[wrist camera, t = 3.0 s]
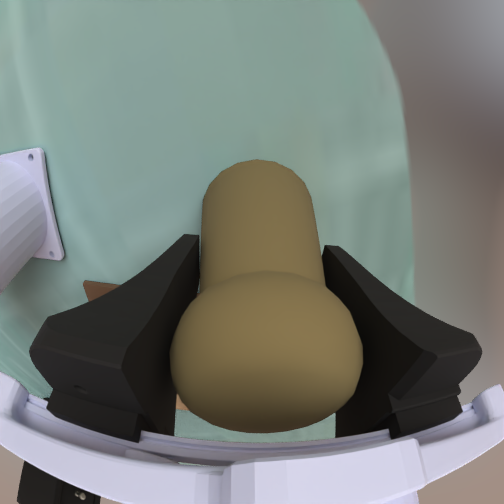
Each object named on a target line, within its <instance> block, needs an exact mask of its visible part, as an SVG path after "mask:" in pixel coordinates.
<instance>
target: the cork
mask: <svg viewBox="0 0 504 504" xmlns="http://www.w3.org/2000/svg"><path fill="white" fill-rule="evenodd" d="M169 355H170V368H171V375H172V380H173V385H174V387H175V390H176V392H177V394H178V396H179V398H180V400H181V401H182V403H183V404H184V405H185V406H186V407H187V408H188V409H189V410H190V412H192V413H193V414H195V415H197V416H198V417H200V418H202V419H203V420H205V421H207V422H209V423H211V424H212V425H215V426H218V427H221V428H225V429H228V430H233V431H239V432H246V433H275V432H284V431H290V430H294V429H299V428H303V427H306V426H309V425H312V424H314V423H317V422H319V421H322V420H323V419H325V418H327V417H328V416H330V415H332V414H333V413H335V412H336V411H337V410H339V409H340V408H341V407H342V406H344V405H345V403H346V402H347V401H348V400H349V399H350V398H351V397H352V396H353V394H354V392H355V389H356V386H357V384H358V381H359V378H360V374H361V370H362V366H363V345H362V343H361V340H360V337H359V334H358V332H357V329H356V326H355V324H354V321H353V319H352V316H351V314H350V311H349V310H348V309H347V308H346V306H345V305H344V304H343V303H342V302H341V300H340V299H339V298H338V297H337V296H336V295H334V294H333V293H332V292H331V291H330V290H329V289H328V288H327V287H326V285H325V277H324V270H323V263H322V257H321V250H320V244H319V238H318V232H317V226H316V220H315V215H314V209H313V204H312V199H311V196H310V194H309V191H308V189H307V187H306V185H305V183H304V182H303V181H302V180H301V179H300V178H299V177H298V176H297V175H296V174H295V173H294V172H293V171H292V170H291V169H289V168H287V167H285V166H283V165H280V164H278V163H276V162H272V161H264V160H251V161H245V162H240V163H237V164H235V165H233V166H231V167H229V168H227V169H225V170H224V171H222V172H221V173H220V174H219V175H218V176H217V177H216V178H215V179H214V180H213V181H212V182H211V184H210V185H209V187H208V189H207V192H206V194H205V196H204V199H203V208H202V227H201V254H200V295H199V296H198V297H197V298H196V299H194V300H193V301H192V302H191V303H190V305H189V306H188V308H187V309H186V311H185V312H184V314H183V315H182V317H181V319H180V322H179V324H178V326H177V329H176V331H175V333H174V336H173V340H172V344H171V348H170V352H169Z"/></svg>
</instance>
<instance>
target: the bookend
mask: <svg viewBox="0 0 504 504" xmlns="http://www.w3.org/2000/svg"><path fill="white" fill-rule="evenodd" d="M43 400H45V401H49V399H48V398H43ZM100 498H101V496H99V495H97V494H94V493H91V492H89V491H86V490H84V489H81V488H79V487H76V486H74V485H72V484H69V483H67V482H65V481H63V480H61V479H59V478H57V477H55V476H53V475H51V474H49V473H47V472H45V471H43V470H41V469H39V468H37V467H36V466H34V465H32V464H30V463H29V462H27V461H24V465H23V469H22V474H21V480H20V484H19V490H18V497H17V502H18V503H19V504H100Z"/></svg>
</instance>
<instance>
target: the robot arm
mask: <svg viewBox="0 0 504 504" xmlns="http://www.w3.org/2000/svg"><path fill="white" fill-rule="evenodd" d="M32 155H33V158H32ZM31 257H35V258H43V259H51V260H62V259H63V257H64V250H63V247H62V243H61V239H60V236H59V232H58V228H57V224H56V219H55V215H54V210H53V206H52V201H51V195H50V190H49V184H48V178H47V171H46V163H45V155H44V151H43V149H41V148H39V147H38V148H32V149H27V150H22V151H17V152H12V153H7V154H3V155H0V295H1V293H2V292H3V291H4V289H5V288H6V287H7V286H8V284H9V283H10V282H11V281H12V279H13V278H14V277H15V276H16V274H17V273H18V272H19V271H20V270H21V269H22V267H23V266H24V265H25V264H26V263H27V262H28V261H29V259H30V258H31ZM322 263H323V270H324V277H325V285H326V287H327V288H328V289H329V290H330V291H331V292H332V293H333V294H334V295H336V296H337V297H338V298H339V299H340V300H341V302H342V303H343V304H344V305H345V306H346V308H347V309H348V310H349V311H350V314H351V316H352V319H353V321H354V324H355V326H356V329H357V332H358V334H359V337H360V340H361V343H362V345H363V366H362V370H361V374H360V378H359V381H358V384H357V386H356V389H355V392H354V394H353V396H352V397H351V398H350V399H349V400H348V401H347V402H346V403H345V405H344V406H342V407H341V408H340V409H339V410H337V411H336V412H335V413H336V432H335V438H332V439H324V440H314V441H301V442H282V443H240V442H221V441H209V440H198V439H190V438H182V437H175V436H174V428H175V412H176V400H177V392H176V390H175V387H174V385H173V380H172V375H171V368H170V355H169V352H170V348H171V344H172V340H173V336H174V333H175V331H176V329H177V326H178V324H179V322H180V319H181V317H182V315H183V314H184V312H185V311H186V309H187V308H188V306H189V305H190V303H191V302H192V301H193V300H194V299H196V298H197V292H198V286H199V279H200V252H199V235H189V234H184V235H183V236H182V237H181V238H179V239H178V240H177V241H176V242H175V243H174V244H173V245H172V246H171V247H170V248H169V249H168V250H166V251H165V252H164V253H163V254H162V255H161V256H160V257H159V258H157V259H156V260H155V261H154V262H153V263H151V264H150V265H149V266H148V267H146V268H145V269H144V270H143V271H141V272H140V273H139V274H137V275H136V276H134V277H133V278H131V279H130V280H128V281H127V282H125V283H124V284H122V285H120V286H119V287H117V288H115V289H113V290H111V291H109V292H108V293H106V294H104V295H102V296H100V297H98V298H96V299H94V300H92V301H90V302H87V303H85V304H83V305H80V306H78V307H75V308H73V309H70V310H67V311H64V312H61V313H58V314H55V315H52V316H49V317H47V319H46V320H45V322H44V324H43V325H42V327H41V329H40V330H39V332H38V334H37V336H36V338H35V339H34V341H33V343H32V345H31V347H30V350H29V353H30V357H31V360H32V362H33V364H34V365H35V367H36V368H37V369H38V371H39V372H40V373H41V375H42V376H43V377H44V378H45V380H46V381H47V382H48V383H49V384H50V386H51V387H52V388H53V391H52V393H51V396H50V398H49V401H45V400H43V399H41V398H39V397H36V396H34V395H32V394H30V393H29V392H28V391H27V389H26V388H25V387H24V386H23V385H22V384H21V383H20V382H19V381H17V380H16V379H14V378H13V377H11V376H9V375H7V374H5V373H3V372H1V371H0V444H1V445H2V446H3V447H5V448H6V449H8V450H9V451H11V452H12V453H14V454H16V455H17V456H19V457H20V458H22V459H24V460H25V461H27V462H29V463H30V464H32V465H34V466H36V467H37V468H39V469H41V470H43V471H45V472H47V473H49V474H51V475H53V476H55V477H57V478H59V479H61V480H63V481H65V482H67V483H69V484H72V485H74V486H76V487H79V488H81V489H84V490H86V491H89V492H91V493H94V494H97V495H99V496H102V497H105V498H108V499H111V500H114V501H117V502H120V503H124V504H419V501H418V495H417V490H419V489H421V488H423V487H425V485H426V484H428V483H430V482H432V481H434V480H437V479H439V478H441V477H443V476H445V475H446V474H448V473H450V472H452V471H454V470H456V469H458V468H460V467H462V466H463V465H465V464H467V463H468V462H470V461H472V460H473V459H475V458H477V457H478V456H480V455H482V454H483V453H485V452H486V451H488V450H489V449H491V448H492V447H494V446H495V445H496V444H498V443H499V442H501V441H502V440H503V439H504V392H503V389H502V387H501V385H500V384H497V385H495V386H492V387H490V388H488V389H486V390H484V391H483V392H481V393H480V394H479V395H478V396H477V397H475V398H474V399H473V401H472V402H470V403H468V404H465V405H463V406H461V405H460V402H459V400H458V397H457V395H459V394H460V393H461V390H460V387H459V385H458V384H459V383H460V382H461V381H462V380H463V379H464V378H465V377H466V376H467V375H468V374H469V373H470V372H471V371H472V370H473V369H474V367H475V366H476V365H477V364H478V361H479V360H480V358H481V355H482V349H481V347H480V345H479V343H478V342H477V340H476V338H475V337H474V335H473V334H471V333H469V332H467V331H464V330H462V329H459V328H456V327H454V326H451V325H449V324H447V323H445V322H443V321H441V320H439V319H437V318H435V317H433V316H430V315H429V314H427V313H425V312H423V311H422V310H420V309H419V308H417V307H415V306H414V305H412V304H410V303H409V302H407V301H406V300H404V299H403V298H402V297H400V296H399V295H397V294H396V293H394V292H393V291H392V290H390V289H389V288H388V287H387V286H385V285H384V284H383V283H382V282H380V281H379V280H378V279H377V278H376V277H374V276H373V275H372V274H371V273H370V272H369V271H367V270H366V269H365V268H364V267H363V266H362V265H361V264H359V263H358V262H357V261H356V260H355V259H354V258H353V257H352V256H350V255H349V254H348V253H347V252H346V251H344V250H343V249H342V248H340V247H339V246H331V245H325V246H324V250H323V254H322ZM178 462H183V463H191V464H199V465H210V466H198V465H182V464H179V463H178Z"/></svg>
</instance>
